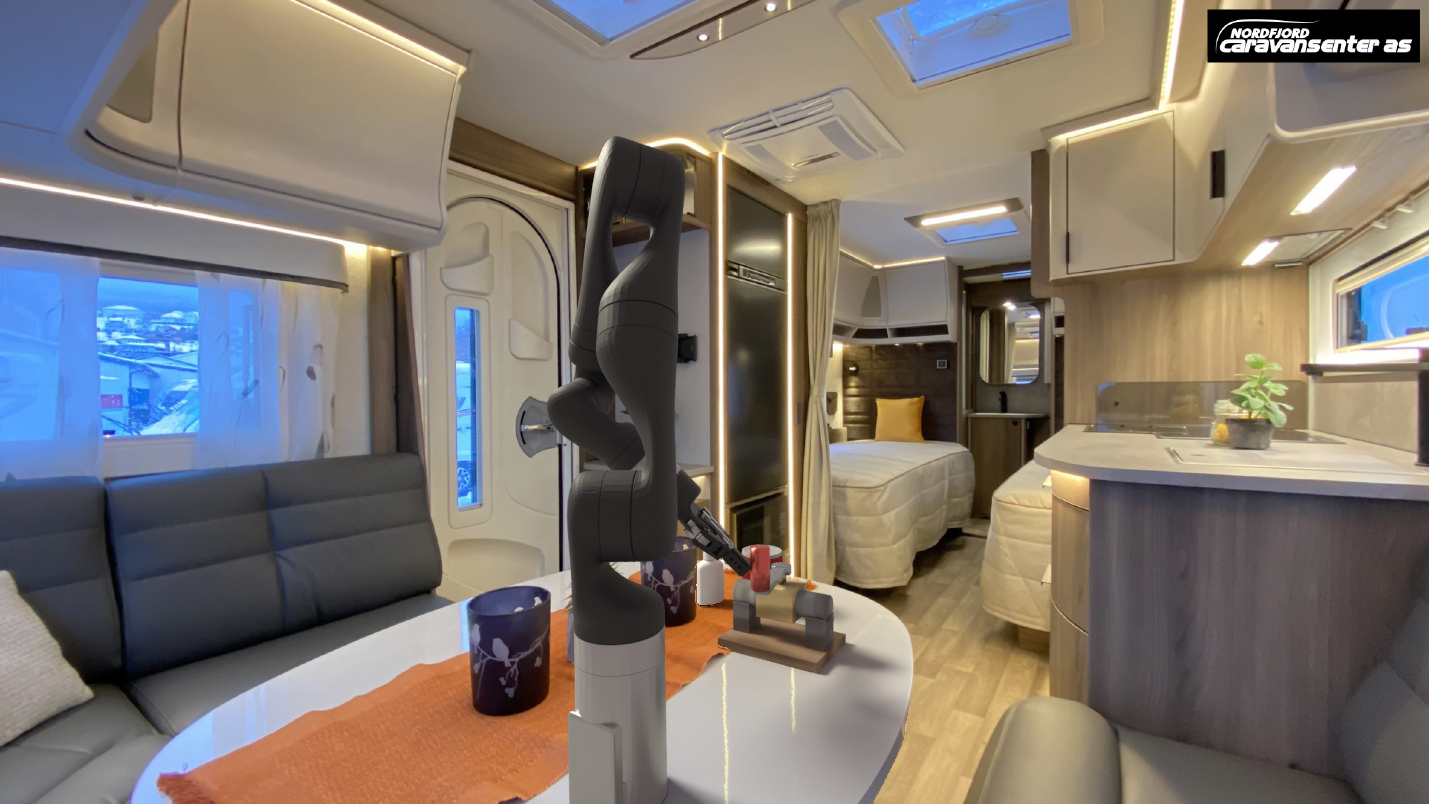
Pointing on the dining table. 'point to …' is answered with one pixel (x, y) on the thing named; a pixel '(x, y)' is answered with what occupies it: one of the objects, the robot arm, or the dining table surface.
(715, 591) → the eye dropper bottle
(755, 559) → the valve lever
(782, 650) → the valve stand
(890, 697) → the dining table surface
